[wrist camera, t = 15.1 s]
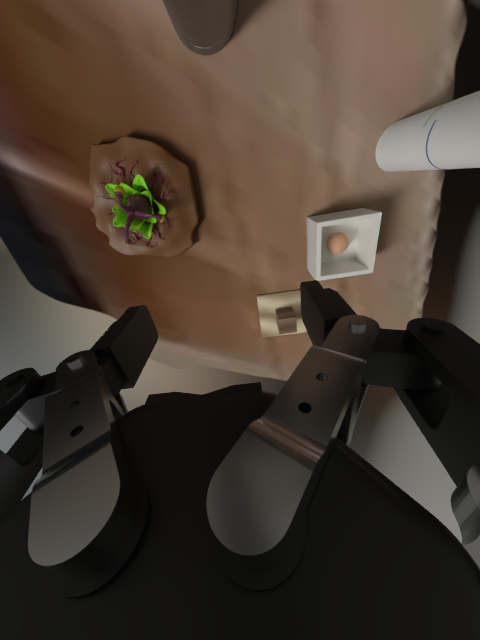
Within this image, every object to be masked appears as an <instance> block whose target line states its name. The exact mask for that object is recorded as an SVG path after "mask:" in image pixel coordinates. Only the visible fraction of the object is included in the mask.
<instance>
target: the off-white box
mask: <svg viewBox="0 0 480 640" xmlns="http://www.w3.org/2000/svg"><path fill="white" fill-rule="evenodd" d="M381 216H382V212H379V211H375V210H371V209H366V208H358V209H352V210H346V211H340V212H334V213H328V214H322V215H316V216H310V217H307V270H308V271H309V272H310V274H311V275H312V276H313V278H314V279H315V280H317V281H320V280H327V279H334V278H341V277H348V276H354V275H361V274H368V273H373V268H374V262H375V255H376V249H377V242H378V236H379V229H380V223H381ZM334 233H344V234H345V235H346V236H347V237H348V239H349V245H348V247H347V249H346V250H345V251H344V252H342V253H340V254H333V253H331V252H330V251H329V250H328V249H327V240H328V239H329V237H330V236H331V235H333V234H334Z"/></svg>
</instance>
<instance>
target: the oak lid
mask: <svg viewBox="0 0 480 640" xmlns="http://www.w3.org/2000/svg"><path fill="white" fill-rule="evenodd" d="M257 301H258V309H259V317H260V324H261V332H262V338H263V337H271V336H279V335H287V334H295V333H302V332H307V330H306V328H305V326H304V323H303V321H302V316H301V293H300V289H299V290H292V291H285V292H278V293H271V294H264V295H257Z"/></svg>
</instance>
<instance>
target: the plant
mask: <svg viewBox="0 0 480 640" xmlns="http://www.w3.org/2000/svg"><path fill="white" fill-rule="evenodd" d="M89 185H90V189H91V193H92V196H93V205H92V207H91V209H90V210H91V211H92V212H93V213H94V215H95V217H96V226H97V228H98V229H99V230H101V231H102V232H104V233H105V234H106V235H107V236H108V237H109V245H110V246H111V247H113V248H114V249H115V250H117V251H118V252H120V253H122V254H125V255H150V256H163V257H166V258H172V257H174V256H177V255H180V254H182V253H184V252H185V250H186V249H188V248H190V247H192V246H193V245H194V243H195V241H194V237H193V233H194V229H195V227H196V226H197V224H198V223H199V221H200V216H199V211H198V206H197V200H196V196H195V191H194V185H193V179H192V175H191V171H190V168H189V166H188V165H187V164H185V163H184V162H182V161H180V160H179V159H177V158H176V157H174V156H173V155H172V154H171V153H170V152H169V151H168V150H167V149H166V148H164V147H163V146H161V145H159V144H157V143H154V142H152V141H148V140H143V139H138V138H133V137H129V136H122V137H121V138H119V139H118V140H117V141H115V142H113V143H109V144H101V145H98V144H93V145H92V148H91V154H90V176H89Z"/></svg>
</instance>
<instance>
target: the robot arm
mask: <svg viewBox="0 0 480 640" xmlns="http://www.w3.org/2000/svg"><path fill="white" fill-rule="evenodd" d="M163 2H164V5H165V7H166V10H167V12H168V14H169V17H170V19H171V21H172V24H173V26H174V28H175V30H176V32H177V34H178V36H179V38H180V39H181V40H182V42H183V43H184V44H185V45H186V46H187V47H188V48H189V49H190V50H192V51H194V52H195V53H197V54H202V55H211V54H213V53H216V52H218V51H219V50H220V49H221V48H223V47H224V45H225V44H226V43H227V42H228V40H229V38H230V36H231V34H232V32H233V29H234V25H235V21H236V15H237V0H163ZM300 293H301V316H302V321H303V323H304V326H305V328H306V330H307V332H308V335H309V337H310V339H311V341H312V344H313V346H312V347H311V348H310V349H309V351H308V352H307V353H306V355H305V356H304V358H303V359H302V361H301V362H300V363H299V365H298V366H297V368H296V369H295V371H294V372H293V373H292V375H291V376H290V378H289V379H288V381H287V382H286V384H285V385H284V387H283V388H282V389H281V391H280V392H279V394H275V393H271V392H266V391H262V386H261V382H259V383H249V384H241V385H232V386H229V387H226V388H223V389H220V390H217V391H213V392H211V393H207V394H203V395H199V394H189V393H181V392H171V393H161V394H152V395H149V396H148V398H147V401H146V403H145V405H142V406H140V407H137V408H135V409H133V410H132V411H129V412H128V410H127V408H126V405H125V402H124V400H123V397H122V396H121V394H120V390H121V389H127V388H133V387H134V386H135V384H136V382H137V380H138V378H139V376H140V374H141V372H142V370H143V368H144V366H145V364H146V362H147V360H148V358H149V356H150V354H151V352H152V350H153V348H154V346H155V344H156V342H157V340H158V333H157V329H156V327H155V325H154V322H153V320H152V317H151V315H150V313H149V310H148V308H147V307H146V306H145V305H142V306H135V307H129V308H128V309H127V310H126V311H125V313H124V314H123V315H122V316H121V317H120V318H119V319H118V320H117V321H116V322H114V323H113V324H112V325H111V326H110V327H109V328H108V330H107V331H106V332H105V333H104V334H103V336H101V337H100V339H99V340H98V341H97V342H96V343H95V345H93V347H92V348H91V349H90V350H86V351H80V352H78V353H75V354H73V355H71V356H69V357H67V358H66V359H65V360H63V361H62V362H61V363H60V364H59V365H58V366H57V367H56V372H53V373H50V374H47V375H43V376H40V375H39V374H38V373H37V371H36V370H35V369H33V368H25V369H22V370H19V371H16V372H14V373H12V374H10V375H8V376H6V377H4V378H3V379H1V380H0V431H1V429H2V428H3V427H4V426H5V425H6V424H7V423H8V421H10V419H11V418H12V417H13V416H14V415H15V416H16V417H17V418H18V419H20V421H21V422H23V423H24V424H25V425H26V426H27V428H26V430H25V431H24V432H23V433H22V435H21V436H20V437H19V438H18V440H17V441H16V442H15V443H14V445H13V446H12V447H11V448H10V450H9V451H8V452H7V453H6V454H5V453H4V452H3V451H1V450H0V640H480V344H479V343H477V342H476V341H475V340H473V339H472V338H471V337H469V336H468V335H467V334H465V333H464V332H463V331H461V330H460V329H459V328H457V327H456V326H454V325H453V324H451V323H448V322H446V321H443V320H439V319H433V318H416V319H413V320H411V321H409V322H408V324H407V327H406V330H392V329H381V328H380V326H379V324H378V323H377V322H376V321H375V320H373V319H371V318H369V317H366V316H361V315H357V314H356V313H355V312H354V311H353V310H352V308H351V307H350V306H349V305H348V304H347V303H346V301H345V300H344V299H343V298H342V297H341V296H340V295H339V293H338V292H336V291H334V290H332V289H330V288H326V289H323V287H322V286H321V285H320V283H319V282H318V281H317V280H314V281H307V282H301V285H300ZM369 384H370V385H377V386H384V387H392V388H394V390H395V392H396V393H397V395H398V396H399V398H400V399H401V401H402V402H403V404H404V405H405V407H406V409H407V410H408V412H409V413H410V415H411V416H412V418H413V419H414V421H415V422H416V424H417V426H418V427H419V429H420V430H421V432H422V433H423V435H424V436H425V438H426V440H427V441H428V443H429V444H430V446H431V447H432V448H433V450H434V452H435V453H436V455H437V457H438V458H439V460H440V461H441V463H442V464H443V465H444V467H445V469H446V470H447V472H448V473H449V475H450V477H451V478H452V480H453V481H454V483H455V484H456V486H457V487H456V489H455V490H454V491H453V493H452V495H451V507H452V511H453V513H454V515H455V518H456V520H457V522H458V525H459V527H460V531H461V535H462V544H461V543H460V542H459V540H458V539H457V538H456V537H455V536H454V535H453V534H452V533H451V532H450V530H448V528H447V527H446V526H445V525H443V524H442V523H441V522H440V521H439V520H438V519H437V518H436V517H435V516H433V515H432V514H431V513H430V512H429V511H428V510H426V509H425V508H424V507H423V506H421V505H420V504H419V503H418V502H416V501H415V500H414V499H413V498H411V497H410V496H409V495H408V494H407V493H405V492H404V491H403V490H402V489H400V488H399V487H398V486H397V485H395V484H394V483H393V482H392V481H390V480H389V479H388V478H387V477H386V476H384V475H383V474H382V473H380V472H379V471H378V470H377V469H376V468H374V467H373V466H372V465H371V464H370V463H368V462H367V461H366V460H364V459H363V458H362V457H361V456H360V455H358V454H357V453H356V452H355V451H353V450H352V449H351V448H350V447H349V443H350V440H351V436H352V432H353V429H354V425H355V422H356V418H357V416H358V413H359V410H360V407H361V405H362V402H363V399H364V396H365V393H366V391H367V388H368V385H369ZM41 468H42V469H43V470H42V476H41V478H40V479H38V480H37V481H36V482H35V484H34V485H33V488H32V492H31V493H30V494H29V495H27V496H26V497H25V498H24V499H23V500H22V501H21V499H22V498H23V496H24V495H25V493H26V492H27V490H28V489H29V487H30V485H31V484H32V482H33V481H34V479H35V478H36V476H37V474H38V473H39V471H40V470H41Z"/></svg>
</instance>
